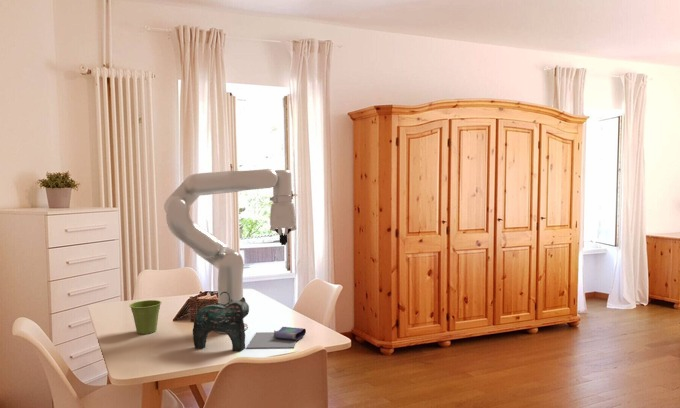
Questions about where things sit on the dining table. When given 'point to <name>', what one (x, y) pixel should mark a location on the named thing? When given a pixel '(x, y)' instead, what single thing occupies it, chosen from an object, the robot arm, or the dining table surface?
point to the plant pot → (146, 315)
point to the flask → (290, 333)
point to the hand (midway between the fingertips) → (283, 244)
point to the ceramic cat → (221, 322)
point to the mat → (269, 341)
